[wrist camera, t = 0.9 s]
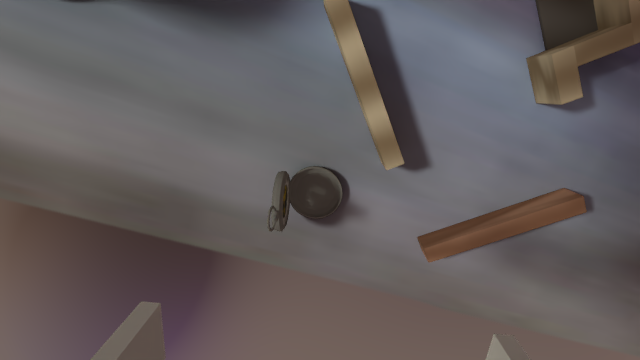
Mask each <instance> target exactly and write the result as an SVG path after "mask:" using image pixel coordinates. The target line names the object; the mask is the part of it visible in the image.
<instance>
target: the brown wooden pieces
mask: <svg viewBox="0 0 640 360" xmlns="http://www.w3.org/2000/svg"><path fill="white" fill-rule="evenodd" d="M536 5H537V10H538V15H539V20H540V25H541V30H542V35H543V40H544V45H545V50H546V51H544V52H541V53H539V54H536V55H534V56H531V57H529V58H526V59H527V64H528V68H529V73H530V77H531V82H532V87H533V91H534V96H535V100H536V103H542V104H557V105H562V104H565V103H568V102H570V101H573V100H576V99H578V98H581V97H583V94H582V88H581V83H580V77H579V71H578V66H580V65H583V64H585V63H588V62H590V61H593V60H596V59H598V58H601V57H603V56H606V55H608V54H611V53H614V52H616V51H619V50H621V49H624V48H626V47H629V46H631V45H634V44H637V43H639V42H640V0H536ZM324 7H325V10H326V13H327V15H328V18H329V21H330V24H331V26H332V29H333V32H334V35H335V37H336V40H337V43H338V45H339V48H340V51H341V54H342V56H343V59H344V62H345V65H346V67H347V70H348V73H349V76H350V78H351V81H352V84H353V86H354V89H355V92H356V95H357V97H358V100H359V103H360V106H361V108H362V111H363V114H364V116H365V119H366V122H367V125H368V127H369V130H370V133H371V136H372V138H373V141H374V144H375V146H376V149H377V152H378V155H379V157H380V160H381V162H382V164H383V166H384V167H385V169H386V170H389V169H391V168H394V167H397V166H399V165H402V164H405V163H404V161H403V158H402V155H401V152H400V149H399V146H398V143H397V140H396V137H395V135H394V132H393V129H392V126H391V123H390V120H389V117H388V114H387V112H386V109H385V106H384V103H383V100H382V97H381V94H380V91H379V88H378V86H377V83H376V80H375V77H374V74H373V71H372V68H371V65H370V62H369V60H368V57H367V54H366V51H365V48H364V45H363V42H362V39H361V36H360V34H359V31H358V28H357V25H356V22H355V19H354V16H353V13H352V11H351V8H350V5H349V2H348V0H324ZM586 212H587V211H586V206H585V201H584V196H582V195H579V194H577V193H575V192H572V191H570V190H568V189H565V188H562V189H559V190H556V191H553V192H550V193H547V194H544V195H541V196H538V197H535V198H533V199H530V200H527V201H524V202H521V203H518V204H515V205H512V206H509V207H506V208H503V209H500V210H497V211H494V212H491V213H488V214H485V215H482V216H479V217H476V218H473V219H470V220H467V221H464V222H461V223H458V224H455V225H452V226H449V227H446V228H443V229H440V230H437V231H434V232H431V233H428V234H425V235H422V236H419V237H417V238H418V241H419V243H420V246H421V249H422V251H423V253H424V255H425V257H426V259H427V261H428V262H433V261H436V260H439V259H442V258H445V257H448V256H451V255H454V254H458V253H461V252H464V251H467V250H470V249H473V248H476V247H479V246H483V245H486V244H489V243H492V242H495V241H498V240H501V239H504V238H507V237H511V236H514V235H517V234H520V233H523V232H526V231H529V230H532V229H536V228H539V227H542V226H545V225H548V224H551V223H554V222H557V221H561V220H564V219H567V218H570V217H573V216H576V215H579V214H582V213H586Z"/></svg>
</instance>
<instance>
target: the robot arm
mask: <svg viewBox="0 0 640 360" xmlns="http://www.w3.org/2000/svg"><path fill="white" fill-rule="evenodd" d="M164 359H165V347H164V336H163V325H162V316H161V304H160V303H151V302H140V304H139V305H138V306H137V307H136V308H135V309H134V311H133V312H132V313H131V314H130V315H129V316H128V317H127V319H126V320H125V321H124V322H123V323H122V324H121V325H120V326H119V328H118V329H117V330H116V331H115V332H114V334H112V336H111V337H110V338H109V339H108V340H107V341H106V343H105V344H104V345H103V346H102V347H101V348H100V349H99V351H98V352H97V353H96V354H95V355H94V356H93V357H92V358H91V360H164ZM486 360H531V359H530V357H529V356H528V355H527V353H526V352H525V351H524V349H523V348H522V346H521V345H520V344H519V342H518V341H517V339H516V338H515V337H514V335H503V334H494V335H493V339H492V341H491V345H490V348H489V351H488V354H487V357H486Z"/></svg>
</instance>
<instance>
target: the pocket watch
mask: <svg viewBox="0 0 640 360" xmlns="http://www.w3.org/2000/svg"><path fill="white" fill-rule="evenodd" d="M341 200H342V185H341V183H340V181H339V180H338V178H337V177H336V175H335V174H334V173H332V172H331V171H330V170H328V169H326V168H323V167H318V166H312V167H307V168H304V169H302V170H300V171H299V172H297V173H296V174H295V175H294V176H293V178H292V179H291V181H290V178H289V175H288V173H287V172H286V171H281V172H278V174H277V176H276V179H275V183H274V188H273V196H272V206H271V207H270V209H269V212H268V218H267V226H268V229H269V231H273V229H274V230H277V231H283V229H284V228H285V226H286V224H287V220H288V214H289V207H290V203H291V205H292V207H293V208H294V209H295V210H296V211H297V212H298V213H299V214H301V215H303V216H305V217H308V218H313V219H319V218H324V217H327V216H329V215H331V214H332V213H333V212H334V211H335V210H336V209H337V208H338V207H339V205H340V203H341ZM271 211H272V225H273V227H272V228H270V224H269V220H270V213H271Z"/></svg>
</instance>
